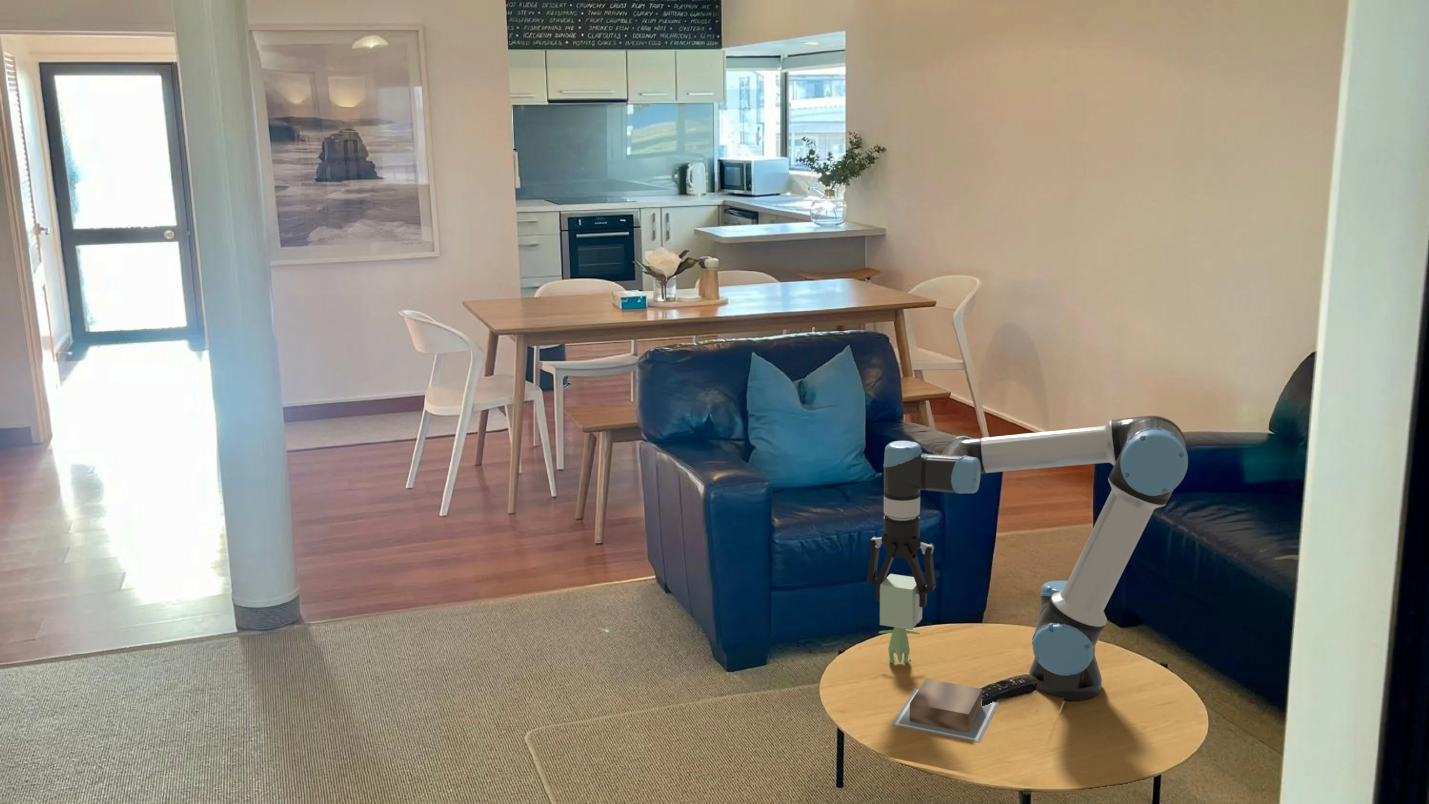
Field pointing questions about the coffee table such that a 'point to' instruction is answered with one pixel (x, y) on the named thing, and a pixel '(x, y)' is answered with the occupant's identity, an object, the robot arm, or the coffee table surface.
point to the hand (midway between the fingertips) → (900, 617)
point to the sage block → (898, 601)
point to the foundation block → (946, 705)
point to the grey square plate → (973, 734)
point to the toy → (899, 644)
